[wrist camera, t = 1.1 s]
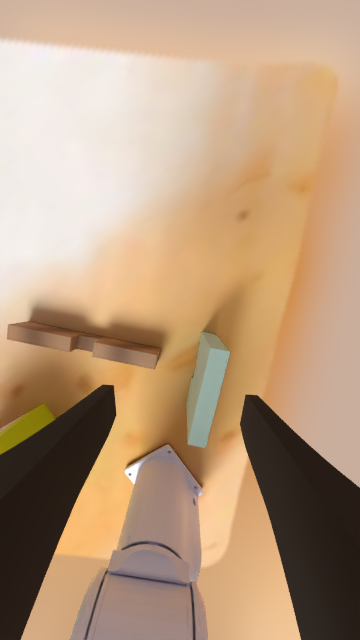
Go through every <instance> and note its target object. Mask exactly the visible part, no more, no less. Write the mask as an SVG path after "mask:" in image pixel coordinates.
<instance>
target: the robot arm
mask: <svg viewBox="0 0 360 640" xmlns="http://www.w3.org/2000/svg"><path fill="white" fill-rule="evenodd" d="M115 417H116V406H115V395H114V385H102V386H100V387H99V388H97V389H96V390H95V391H93V392H92V393H91V394H89V395H88V396H87V397H85V398H84V399H83V400H81V401H80V402H79V403H77V404H76V405H75V406H73V407H72V408H71V409H69V410H68V411H67V412H65V413H64V414H62V415H61V416H59V417H58V418H57V419H55V420H54V421H52V422H51V423H49V424H48V425H46V426H45V427H43V428H42V429H41V430H39V431H38V432H36V433H35V434H33V435H32V436H30V437H28V438H27V439H25V440H24V441H22V442H20V443H19V444H17V445H16V446H14V447H12V448H11V449H9V450H7V451H6V452H4V453H2V454H1V455H0V640H21V637H22V634H23V631H24V629H25V626H26V624H27V621H28V619H29V616H30V613H31V610H32V608H33V606H34V603H35V600H36V598H37V595H38V593H39V590H40V587H41V585H42V582H43V580H44V577H45V575H46V572H47V570H48V567H49V564H50V562H51V560H52V557H53V555H54V552H55V550H56V547H57V545H58V542H59V540H60V538H61V535H62V533H63V530H64V528H65V526H66V523H67V521H68V518H69V516H70V514H71V511H72V509H73V507H74V504H75V502H76V500H77V498H78V495H79V493H80V491H81V489H82V487H83V485H84V483H85V481H86V479H87V477H88V475H89V473H90V471H91V469H92V467H93V465H94V463H95V461H96V459H97V457H98V455H99V453H100V451H101V449H102V447H103V445H104V443H105V441H106V439H107V437H108V435H109V433H110V430H111V428H112V425H113V422H114V420H115ZM240 426H241V431H242V435H243V439H244V443H245V447H246V450H247V453H248V456H249V459H250V462H251V465H252V468H253V470H254V473H255V476H256V479H257V482H258V485H259V488H260V491H261V493H262V496H263V499H264V502H265V505H266V508H267V511H268V514H269V517H270V520H271V524H272V528H273V531H274V535H275V538H276V543H277V546H278V550H279V553H280V557H281V561H282V565H283V569H284V572H285V577H286V581H287V584H288V588H289V592H290V596H291V600H292V603H293V608H294V612H295V616H296V620H297V624H298V628H299V632H300V636H301V640H360V488H359V487H358V486H357V485H356V484H354V483H353V482H352V481H351V480H349V479H348V478H347V477H346V476H344V475H343V474H342V473H341V472H340V471H338V470H337V469H336V468H335V467H333V466H332V465H331V464H330V463H329V462H327V461H326V460H325V459H324V458H323V457H322V456H321V455H319V454H318V453H317V452H316V451H315V450H314V449H313V448H311V447H310V446H309V445H308V444H307V443H306V442H305V441H304V440H303V439H302V438H301V437H300V436H298V435H297V434H296V433H295V432H294V431H293V430H292V429H291V428H290V427H289V426H288V425H287V424H286V423H285V422H284V421H283V420H281V418H280V417H279V416H278V415H277V414H276V413H275V412H274V411H273V410H272V409H271V408H270V407H269V406H268V405H267V404H266V403H265V402H264V401H263V400H262V399H261V398H260V397H259V396H257V395H246V396H245V401H244V406H243V412H242V417H241V422H240ZM125 473H126V475H127V476H128V477H129V478H130V480H131V481H132V482H133V483H134V486H133V490H132V494H131V498H130V501H129V505H128V509H127V512H126V516H125V520H124V524H123V527H122V531H121V535H120V539H119V542H118V546H117V550H114V551H113V553H112V556H111V560H110V563H109V567H108V568H105V567H102V568H101V569H100V570H99V572H98V573H97V574H96V575H95V576H94V577H93V579H92V580H91V582H90V584H89V586H88V589H87V592H86V594H85V596H84V599H83V602H82V604H81V608H80V610H79V613H78V616H77V619H76V622H75V625H74V628H73V632H72V635H71V638H70V640H208V633H207V621H206V612H205V605H204V601H203V597H202V595H201V592H200V590H199V588H198V585H197V580H198V576H199V571H200V566H201V539H200V524H199V509H198V496H200V495H201V494H202V493H203V490H202V488H201V486H200V485H199V484H198V482H197V481H196V480H195V478H194V477H193V476H192V474H191V473H190V472H189V470H188V469H187V468H186V466H185V465H184V464H183V462H182V461H181V460H180V458H179V457H178V456H177V454H176V453H175V452H174V450H173V449H172V448H171V446H170V445H165V446H163V447H161V448H159V449H158V450H156V451H154V452H152V453H151V454H149V455H147V456H145V457H143V458H142V459H140V460H138V461H136V462H135V463H133V464H131V465H129V466H128V467H126V469H125Z"/></svg>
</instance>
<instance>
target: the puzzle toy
mask: <svg viewBox="0 0 360 640" xmlns="http://www.w3.org/2000/svg"><path fill="white" fill-rule="evenodd" d="M55 419H56V418H55V417H54V416H53V414H52V413H51V412H50V410H49V409H48V408H47V406H46V405H45V404H44V403H43V404H42V405H40V406H38V407H36V408H35V409H33V410H31V411H29V412H28V413H26V414H24V415H22V416H21V417H19V418H17V419H15V420H14V421H12V422H10V423H8V424H7V425H5V426H3V427H1V428H0V455H1V454H2V453H4V452H6V451H7V450H9V449H11V448H12V447H14V446H16V445H17V444H19V443H20V442H22V441H24V440H25V439H27V438H28V437H30V436H32V435H33V434H35V433H36V432H38V431H39V430H41V429H42V428H43V427H45V426H46V425H48V424H49V423H51V422H52V421H54V420H55Z"/></svg>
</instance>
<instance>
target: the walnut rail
mask: <svg viewBox="0 0 360 640" xmlns="http://www.w3.org/2000/svg"><path fill="white" fill-rule="evenodd" d="M7 339H8V340H13V341H18V342H23V343H28V344H33V345H38V346H43V347H48V348H53V349H57V350H62V351H67V352H70V351H73V350H75V349H81V350H86V351H91V352H93V356H92V357H97V358H102V359H107V360H111V361H116V362H121V363H126V364H131V365H136V366H141V367H146V368H151V369H155V367H156V365H157V362H158V359H159V353H160V348H156V347H151V346H146V345H141V344H137V343H132V342H127V341H122V340H117V339H112V338H107V337H102V336H97V335H92V334H88V333H83V332H78V331H73V330H68V329H63V328H58V327H53V326H48V325H43V324H39V323H34V322H29V321H28V322H22V323H16V324H9V325H8V333H7Z"/></svg>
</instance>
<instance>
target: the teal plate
mask: <svg viewBox="0 0 360 640" xmlns="http://www.w3.org/2000/svg"><path fill="white" fill-rule="evenodd" d="M229 355H230V351H229V350H228V349H227V347H226V346H225V345H224V344H223V343H222V341H221V340H220V339H219V338H218V337H217V335H216V334H212V333H207V332H202V334H201V339H200V343H199V348H198V352H197V356H196V358H197V363H196V368H195V372H194V376H193V377H192V378H191V383H190V387H189V392H188V396H187V442H188V445H192V446H197V447H202V448H206V444H207V441H208V437H209V433H210V429H211V425H212V421H213V417H214V413H215V410H216V406H217V402H218V398H219V394H220V390H221V386H222V382H223V378H224V375H225V371H226V367H227V363H228V359H229Z"/></svg>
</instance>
